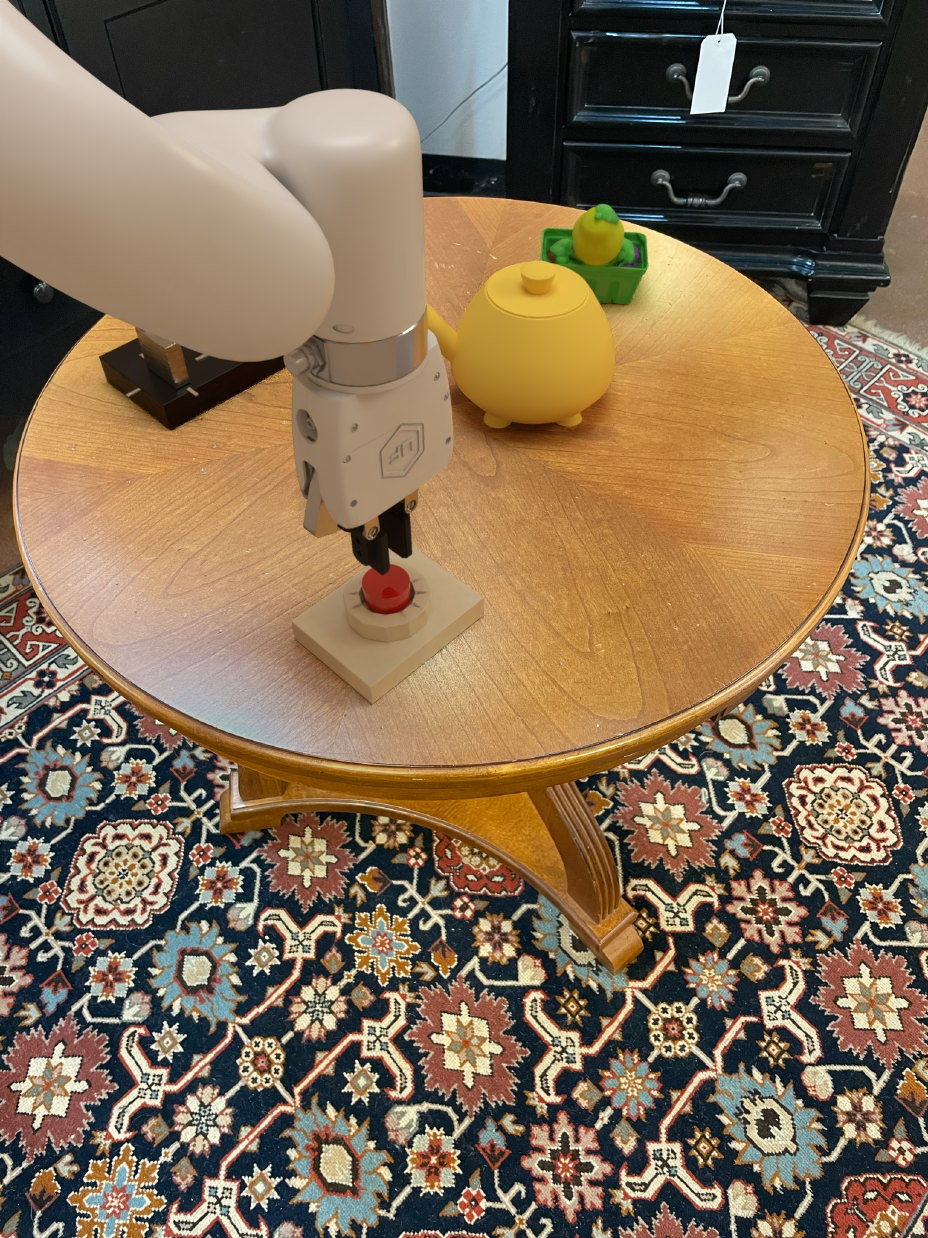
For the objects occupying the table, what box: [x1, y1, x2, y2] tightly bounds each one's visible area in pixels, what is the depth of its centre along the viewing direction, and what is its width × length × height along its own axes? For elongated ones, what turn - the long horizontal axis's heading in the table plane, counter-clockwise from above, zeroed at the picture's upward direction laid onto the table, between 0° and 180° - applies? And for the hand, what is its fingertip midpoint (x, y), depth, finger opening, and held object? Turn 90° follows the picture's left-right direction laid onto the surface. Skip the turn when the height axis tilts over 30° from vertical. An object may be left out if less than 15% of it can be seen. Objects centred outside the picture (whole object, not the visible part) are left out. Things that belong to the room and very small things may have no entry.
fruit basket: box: [539, 203, 649, 305], centre depth 101 cm, size 11×9×11 cm
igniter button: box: [362, 564, 411, 614], centre depth 72 cm, size 4×4×2 cm
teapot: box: [427, 260, 616, 429], centre depth 89 cm, size 20×16×14 cm
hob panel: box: [98, 337, 286, 431], centre depth 94 cm, size 16×12×3 cm
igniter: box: [291, 545, 485, 705], centre depth 74 cm, size 12×9×4 cm
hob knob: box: [134, 326, 190, 389], centre depth 89 cm, size 5×2×5 cm, turn 45°
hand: (383, 554), depth 69 cm, fingers closed
